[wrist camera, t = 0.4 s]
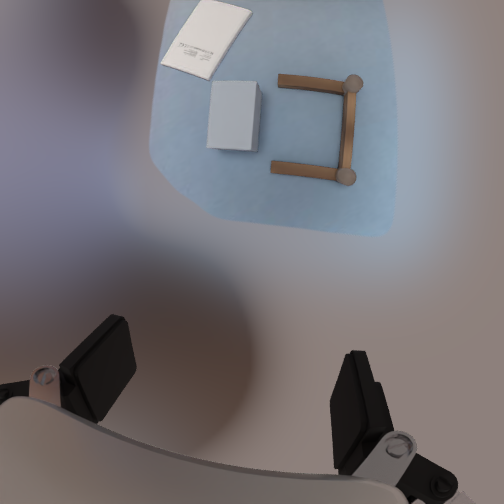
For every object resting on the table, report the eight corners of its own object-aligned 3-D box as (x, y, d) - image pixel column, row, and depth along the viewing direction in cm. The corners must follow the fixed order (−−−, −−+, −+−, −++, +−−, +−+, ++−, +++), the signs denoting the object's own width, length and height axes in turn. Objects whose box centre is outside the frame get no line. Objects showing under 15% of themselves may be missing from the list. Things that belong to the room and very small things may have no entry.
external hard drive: (253, 15, 29) (210, 82, 33) (204, 2, 28) (163, 66, 33) (251, 10, 27) (207, 79, 31) (201, -3, 27) (159, 62, 31)
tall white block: (224, 92, 33) (212, 81, 27) (262, 93, 32) (256, 81, 26) (219, 149, 35) (206, 147, 30) (257, 151, 35) (250, 150, 29)
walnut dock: (279, 75, 31) (277, 64, 27) (355, 85, 30) (363, 76, 26) (271, 174, 35) (268, 175, 31) (347, 183, 34) (355, 186, 30)
